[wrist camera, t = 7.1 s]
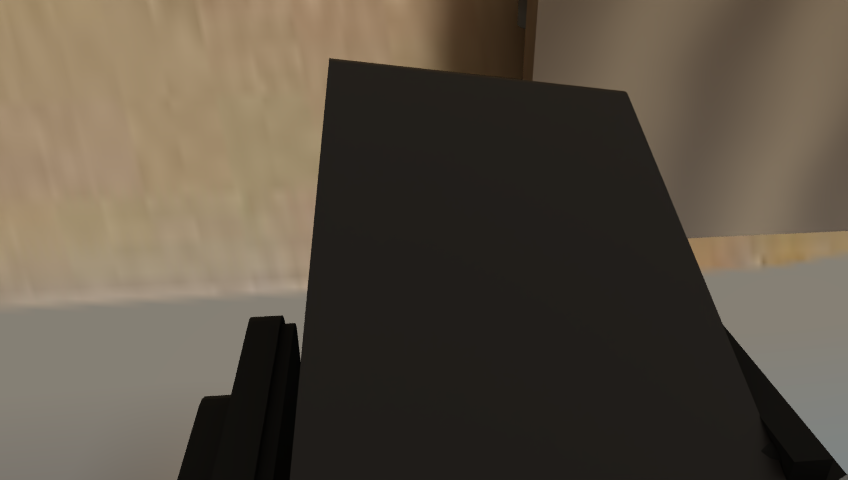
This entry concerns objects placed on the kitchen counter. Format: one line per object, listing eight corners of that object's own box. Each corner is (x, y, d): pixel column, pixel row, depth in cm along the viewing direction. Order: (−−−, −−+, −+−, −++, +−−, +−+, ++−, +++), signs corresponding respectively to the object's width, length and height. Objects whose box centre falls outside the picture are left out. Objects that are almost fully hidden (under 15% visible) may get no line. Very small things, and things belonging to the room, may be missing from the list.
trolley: (865, -28, 26) (953, -12, 22) (805, 185, 31) (870, 229, 27) (510, -22, 25) (538, -5, 21) (499, 197, 30) (520, 245, 26)
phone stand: (330, 52, 13) (233, 760, 3) (622, 87, 14) (1449, 723, 3) (303, 408, 17) (224, 1247, 7) (530, 418, 18) (780, 1174, 8)
